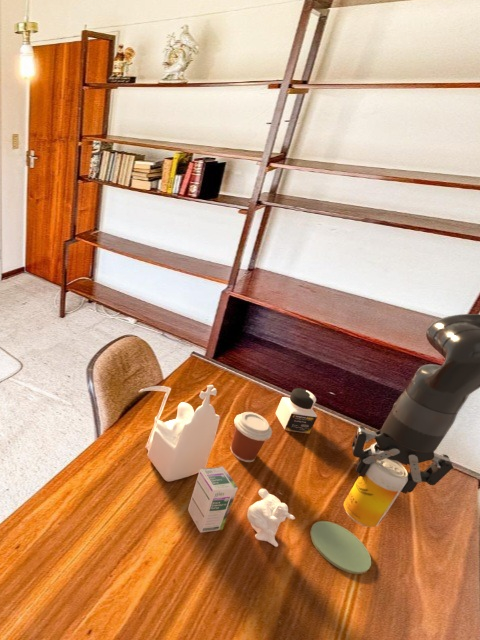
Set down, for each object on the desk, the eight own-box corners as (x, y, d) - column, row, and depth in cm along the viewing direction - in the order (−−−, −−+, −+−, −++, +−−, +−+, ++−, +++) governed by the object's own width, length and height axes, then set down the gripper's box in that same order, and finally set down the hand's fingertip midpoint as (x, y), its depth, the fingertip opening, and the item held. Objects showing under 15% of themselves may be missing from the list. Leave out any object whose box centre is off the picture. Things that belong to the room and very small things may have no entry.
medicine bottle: (284, 430, 119) (297, 400, 114) (274, 413, 126) (286, 384, 121) (309, 434, 118) (324, 403, 113) (298, 416, 125) (312, 387, 120)
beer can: (344, 496, 87) (372, 448, 81) (379, 515, 84) (411, 466, 77) (339, 514, 84) (368, 465, 77) (375, 535, 80) (409, 485, 73)
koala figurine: (288, 550, 87) (307, 515, 82) (261, 554, 86) (278, 519, 81) (263, 514, 95) (278, 480, 90) (237, 516, 94) (251, 482, 89)
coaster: (365, 539, 90) (367, 537, 90) (373, 585, 82) (375, 583, 81) (309, 514, 95) (310, 512, 95) (310, 555, 87) (312, 552, 86)
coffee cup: (267, 456, 110) (280, 424, 105) (250, 471, 106) (263, 439, 100) (236, 435, 117) (247, 404, 112) (218, 448, 112) (229, 416, 107)
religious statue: (175, 434, 116) (198, 351, 103) (208, 473, 105) (238, 384, 92) (124, 448, 111) (142, 362, 98) (153, 490, 100) (177, 398, 87)
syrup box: (199, 533, 90) (215, 491, 84) (186, 509, 95) (200, 467, 89) (222, 530, 91) (239, 488, 85) (208, 506, 96) (222, 464, 90)
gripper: (373, 415, 72) (338, 478, 79) (481, 450, 66) (433, 515, 73) (367, 392, 78) (335, 452, 85) (466, 422, 71) (422, 485, 79)
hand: (380, 481), depth 79 cm, fingers closed on beer can, 6 cm apart
